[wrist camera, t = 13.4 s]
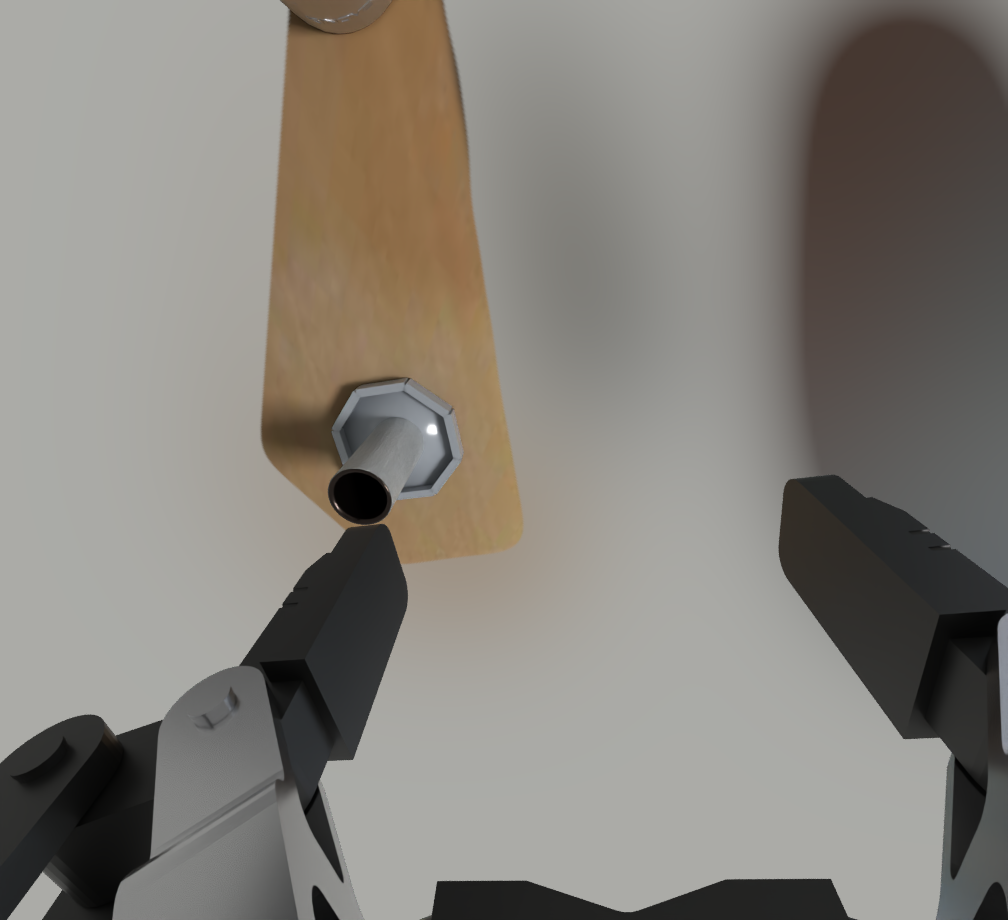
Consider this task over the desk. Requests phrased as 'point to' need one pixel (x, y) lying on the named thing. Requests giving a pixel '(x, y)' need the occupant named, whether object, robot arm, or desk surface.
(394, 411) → the saucer
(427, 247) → the desk surface
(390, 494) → the planter
